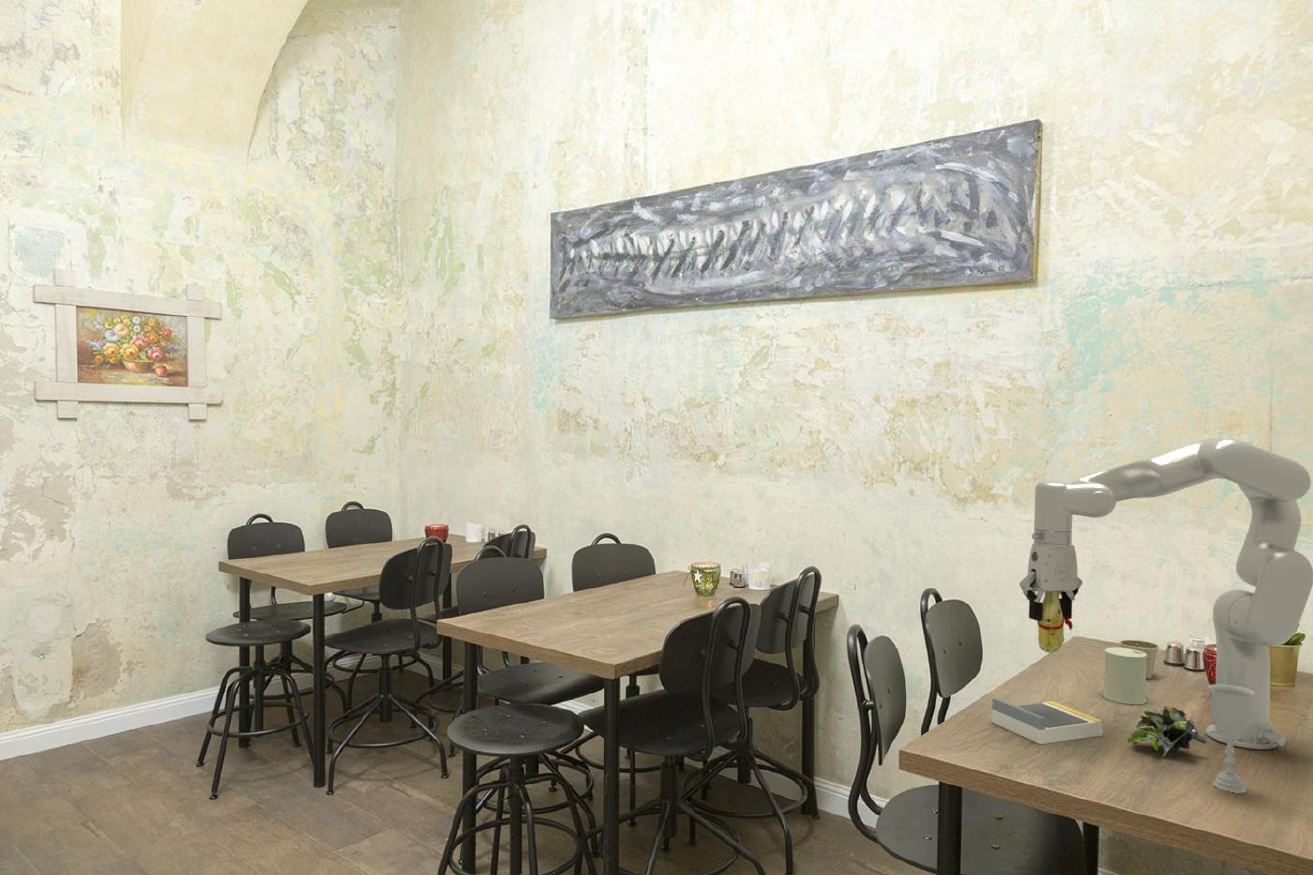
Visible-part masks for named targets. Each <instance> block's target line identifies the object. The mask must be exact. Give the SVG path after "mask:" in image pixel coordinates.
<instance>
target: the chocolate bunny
mask: <svg viewBox="0 0 1313 875" xmlns="http://www.w3.org/2000/svg"><path fill="white" fill-rule="evenodd" d="M1059 598H1060V591H1059V592H1044V597H1043V598H1042V599H1043V600H1042V602H1041V603H1042V604H1043V605H1042V620H1041V621H1037V620H1036V622H1037V628H1038V636H1037V639H1038V646H1039V648H1040V650H1042V651H1044V652H1045V653H1049V654H1050V653H1051V654H1052V653H1054V652H1057V651H1059V650H1060V649H1061V647H1062V646H1063V644H1064V641H1065V636H1064V635H1065V634H1064V632H1065V630H1064V629H1065V628H1064V624H1065V625H1067V626H1068V628H1069V630H1070V631H1072V629H1073V628H1074V626H1073V623H1072V621H1071V619H1069V615H1066V616H1065V617H1064V618H1063V614H1062V611H1061V607H1060V601H1059Z"/></svg>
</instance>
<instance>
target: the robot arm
mask: <svg viewBox="0 0 1313 875" xmlns="http://www.w3.org/2000/svg"><path fill="white" fill-rule="evenodd" d="M1307 470H1308V469H1306V468H1305V467H1304V465H1302V464H1300V463H1299V462H1297V461H1295V460H1293V459H1291V458H1287V457H1285V456H1282V455H1279V454H1276V453H1274V452H1270V451H1268V450H1266V449H1263V448H1261V447H1258V446H1255V445H1253V444H1250V443H1247V442H1245V441H1242V440H1239V439H1234V438H1218V437H1217V438H1213V437H1212V438H1205V439H1201V440H1198V441H1196V442H1195V441H1194V442H1192V443H1189V444H1186V445H1182V446H1180V447H1178V448H1175V449H1172V450H1168V451H1166V452H1164V453H1160V454H1157V455H1154V456H1153V455H1152V456H1150V457H1148V458H1145V459H1140V460H1137V461H1134V462H1130V463H1127V464H1125V465H1120V466H1116V467H1113V468H1109V469H1105V470H1102V471H1100V472H1096V473H1094V474H1089V475H1088V476H1085V477H1081V478H1079V479H1076V480H1074V481H1072V482H1070V483H1068V482H1063V481H1040V482H1038V483H1037V484H1036V486H1035V490H1034V492H1035V493H1034V518H1033V519H1034V523H1033V524H1034V525H1033V528H1034V529H1033V533H1032V534H1031V538H1032V540H1033V543H1031V548H1030V552H1029V558H1028V565H1027V566H1028V567H1027V575H1026V576H1025V577H1024V578H1022V580H1021V581H1020V582H1019V587H1020V588H1021V590H1022V593H1023V594H1024V595H1025V597H1026V600H1027V601H1029V604H1028V618H1029V619H1031V620H1034V621H1036V622H1037V621H1041V620H1042V605H1043V604H1042V602H1041V600H1042V599H1043V596H1044V595H1045V592H1059V591H1060V593H1059V596H1060V597H1059V601H1060V607H1061V611H1062V614H1063V619H1064V617H1065V616H1066V615H1069V620H1072V619H1073V618H1072V616H1073V602H1074V601H1075V600H1076V595H1077V594H1078V593H1079V589H1080V587H1082V585H1083V580H1082V579H1081V578H1080V577H1079V575H1078V560H1077V552H1076V547H1075V545H1074V544H1072V541H1073V540H1072V539H1073V536H1072V535H1073V516H1082V517H1088V518H1095V519H1097V518H1102V517H1106V516H1108V515H1109V514H1111V513H1112V512H1113V511H1114V509H1115V507H1116V506H1117V505H1116V504H1117V502H1121V501H1122V502H1123V501H1125V500H1130V499H1142V498H1143V499H1144V498H1156V497H1161V496H1167V495H1170V494H1173V493H1175V492H1178V491H1181V490H1184V489H1187V488H1190V487H1192V486H1196V485H1200V484H1203V483H1205V482H1208V481H1211V480H1215V479H1221V480H1227V481H1230V482H1233V483H1234V484H1237V486H1238V487H1239V489H1240V491H1242V493H1243V494H1244V496H1246V499H1247V500H1248V502H1249V505H1250V508H1251V520H1250V523H1249V526H1248V530H1247V533H1246V536H1245V539H1244V541H1243V544H1242V547H1241V548H1240V552H1239V555H1238V557H1237V561H1236V563H1235V564H1236V565H1235V571H1236V574H1237V576H1238V577H1239V578H1240V579H1241V580H1242V581H1243V582H1245V583H1246V584H1247V585H1250V586H1252V587H1255V589H1254V591H1253V592H1252V591H1248V590H1243V589H1233V590H1229V591H1225V592H1224V593H1222V594H1220V595H1219V596H1218V597H1217V599H1216V600H1215V602H1214V605H1213V608H1212V619H1213V626H1214V631H1215V640H1216V641H1215V642H1216V643H1215V644H1216V645H1215V646H1216V662H1215V664H1216V665H1215V684H1224V685H1233V686H1239V687H1243V688H1247V689H1250V690H1252V691H1254V692H1255V694H1254V695H1253V697H1252V698H1251V720H1250V722H1249V725H1248V727H1247V729H1246V730H1245V732H1244V733H1243V735H1242V736H1241V738H1240V739H1239V740H1237V741H1234V743H1233V747H1238V748H1244V749H1252V750H1272V749H1275V748H1277V747H1278V746H1280V747H1283V746H1284V745H1285V744H1286V741H1287V739H1288V738H1287V735H1286V734H1284V733H1280V732H1276V730H1275V724H1274V723H1271V722H1270V703H1271V702H1270V697H1271V696H1270V695H1271V692H1270V691H1271V690H1270V689H1271V665H1272V664H1271V653H1270V647H1277V646H1280V645H1281V646H1282V645H1284V644H1285V643H1287V642H1288V641H1290V639H1291V638H1292V637H1293V636H1294V634H1295V632H1296V630H1297V629H1298V626H1299V624H1300V621H1301V619H1302V616H1303V614H1304V611H1305V607H1306V605H1307V602H1308V600H1309V598H1310V595H1311V592H1312V588H1313V566H1312V564H1311V562H1310V560H1309V559H1308V558H1307V557H1306V556H1305V555H1304V554H1302V553H1301V552H1299V551H1298V550H1295V548H1296V544H1297V540H1298V536H1299V533H1300V529H1301V527H1302V526H1301V525H1302V523H1301V522H1302V516H1301V509H1300V507H1299V504H1298V502H1297V501H1298V500H1300V499H1301V498H1303V497H1304V496H1305V495H1306V494H1307V493H1308V492H1309V490H1310V488H1311V484H1312V481H1311V480H1312V479H1311V475H1310V473H1309V471H1307ZM1205 728H1206V730H1205V731H1206V735H1207V736H1208V737H1210V738H1211V739H1213V740H1215V741H1218V742H1220V743H1222V744H1226V745H1227V740H1226V739H1224V738H1222V737H1221V735H1220V733H1219V731H1218V729H1217V727H1216V725H1215V723H1214V724H1209V725H1207V727H1205Z"/></svg>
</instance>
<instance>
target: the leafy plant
mask: <svg viewBox="0 0 1313 875" xmlns="http://www.w3.org/2000/svg"><path fill="white" fill-rule="evenodd" d="M1143 713H1144V715H1146V716H1144V715H1142V714H1140V718H1141V720H1140V721H1138V722H1137V724H1136V726H1135V727H1136V730H1135V731H1133V732H1132V733H1131V734H1130V735H1129V737H1128V739H1127V741H1128V742H1129V743H1131V742H1132V745H1133V747H1135V746H1136V745H1138V744H1139V742H1142V741H1149V740H1151V744H1152V747H1153V749H1154V750H1155V751H1156V752H1158V751H1159V742H1160V741H1161V742H1162V748H1163V754H1162V756H1161V757H1160V759H1161V760H1162V759H1164V758H1165V756H1166V754H1167V753H1168V751H1170V749H1171V748H1172V749H1174V750H1175V751H1177V750H1180V748H1182V749H1185V750H1190V747H1191V746H1190V742H1192V741H1193V740H1195V741H1196V742H1199V743H1201V744H1204V745H1205V744H1207V739H1206V738H1204V737H1203V736H1200V735H1199V732H1198V728H1196V727H1195V722H1194V721H1193V720H1192V719H1188V720H1187V718H1188V717H1187V716H1186V715H1187V714H1186V713H1185V711H1184V710H1180V709H1178V708H1177V707H1175V706H1171V707H1169V706H1164V707H1163V709H1160V710H1156V709H1154V710H1152V711H1151V710H1148V709H1146V708H1144V709H1143ZM1144 726H1145V727H1144Z"/></svg>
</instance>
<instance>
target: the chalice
mask: <svg viewBox="0 0 1313 875" xmlns="http://www.w3.org/2000/svg"><path fill="white" fill-rule="evenodd" d="M1207 687H1208V689H1209V691H1210V693H1211V694H1210V695H1211V696H1210V698H1211V699H1210V701H1211V702H1210V715H1211V717H1212V720H1213V723H1214V724H1215V725H1216V727H1217V729H1218V731H1219V733H1220V735H1221V737H1222V738H1224V739H1226V740H1227V744H1226V747H1225V749H1224V751H1225V754H1226V757H1225V758H1224V759H1223V761H1224V763H1225V764H1226V765H1225V766H1226V768H1225V770H1223V771H1221V772H1219V773H1218V774H1217V775H1216V776H1217V777H1216V778H1214V779H1215V781H1214V782H1213V783H1212V786H1213V785H1215V786H1216V787H1218V788H1220V789H1223V790H1226V791H1225V792H1227V791H1230V792H1229V793H1232V792H1234V793H1233V794H1243V793H1242V792H1244V793H1246V792H1245V791H1247V790H1246V788H1245V786H1244V783H1243V781H1242V778H1241V777H1240V776H1239V775H1237V774H1236V773H1235V772H1234V768H1233V767H1234V764H1235V763H1236V760H1234V755H1235V753H1236V750H1235V748H1234V745H1233V743H1234V741H1237V740H1239V739H1240V738H1241V736H1242V735H1243V733H1244V732H1245V730H1246V729H1247V727H1248V725H1249V722H1250V720H1251V698H1252V697H1253V695H1254V694H1255V692H1254V691H1252V690H1250V689H1247V688H1243V687H1239V686H1233V685H1224V684H1216V683H1215V684H1214V683H1213V684H1209V685H1208V686H1207ZM1215 786H1214V787H1215ZM1216 787H1215V788H1216ZM1218 788H1217V789H1218ZM1220 789H1219V790H1220ZM1223 790H1222V791H1223Z"/></svg>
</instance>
